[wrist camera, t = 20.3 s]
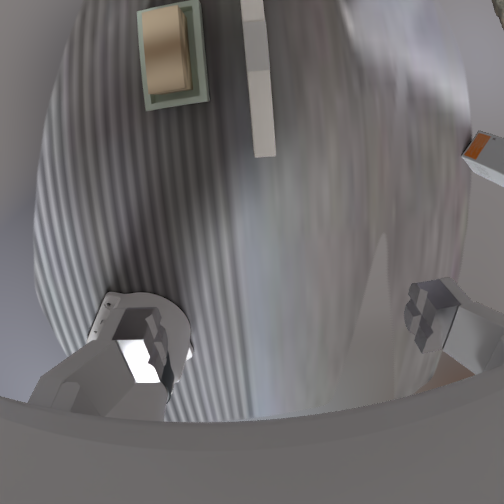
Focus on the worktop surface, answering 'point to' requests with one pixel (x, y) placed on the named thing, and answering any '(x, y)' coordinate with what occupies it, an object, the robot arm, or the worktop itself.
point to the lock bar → (166, 51)
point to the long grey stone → (499, 10)
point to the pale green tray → (196, 57)
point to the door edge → (258, 77)
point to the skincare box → (486, 157)
